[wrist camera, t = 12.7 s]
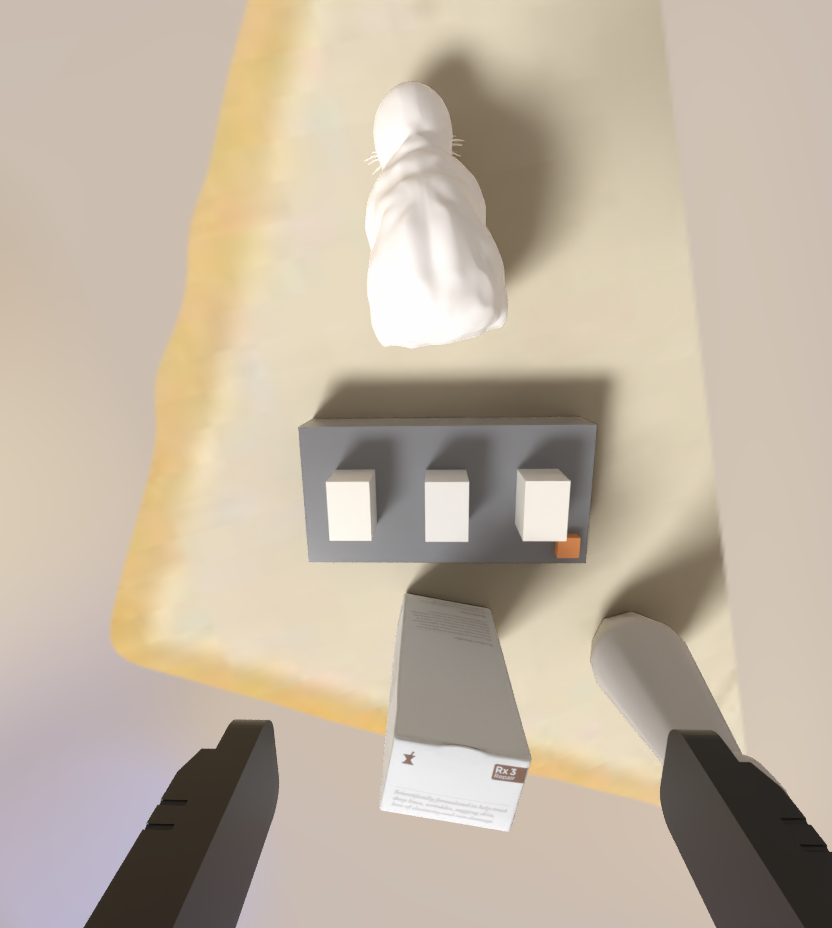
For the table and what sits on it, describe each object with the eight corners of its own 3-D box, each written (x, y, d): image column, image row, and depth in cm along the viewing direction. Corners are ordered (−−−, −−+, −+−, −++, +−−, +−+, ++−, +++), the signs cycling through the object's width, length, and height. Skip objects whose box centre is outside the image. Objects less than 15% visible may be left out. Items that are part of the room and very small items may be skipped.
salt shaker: (670, 597, 30) (840, 777, 17) (667, 672, 31) (824, 890, 19) (579, 603, 30) (681, 785, 18) (580, 678, 32) (676, 895, 19)
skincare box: (393, 644, 32) (369, 819, 20) (404, 586, 31) (386, 735, 19) (481, 660, 32) (509, 844, 20) (496, 603, 31) (535, 762, 19)
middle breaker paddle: (425, 469, 25) (424, 482, 23) (465, 469, 25) (469, 481, 23) (426, 524, 26) (425, 541, 24) (465, 524, 26) (468, 541, 24)
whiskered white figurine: (365, 351, 18) (309, 15, 17) (389, 364, 27) (353, 141, 25) (524, 324, 18) (484, -25, 16) (498, 346, 26) (469, 118, 25)
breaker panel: (312, 418, 28) (284, 435, 23) (579, 416, 27) (614, 432, 22) (320, 541, 30) (297, 582, 25) (570, 541, 29) (600, 584, 24)
